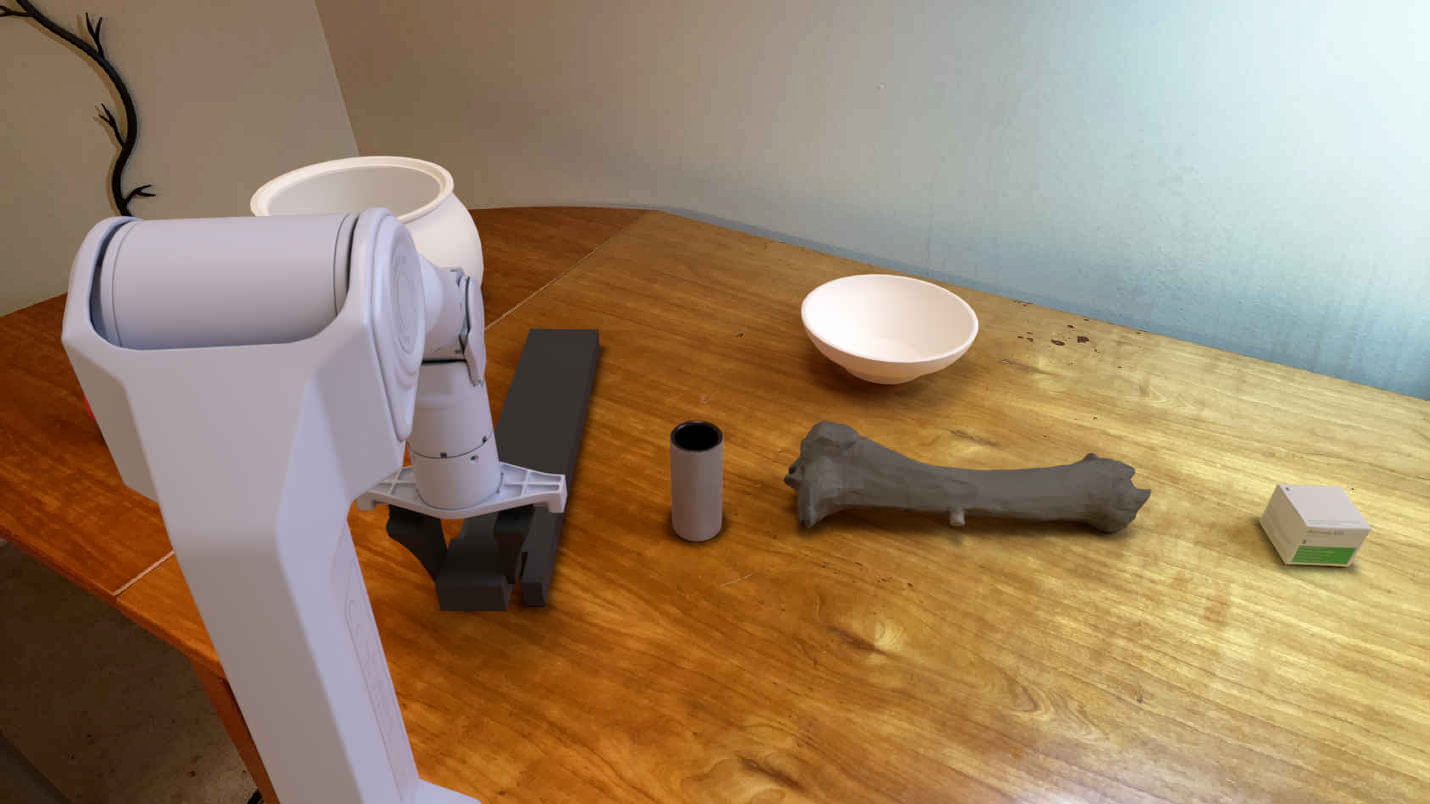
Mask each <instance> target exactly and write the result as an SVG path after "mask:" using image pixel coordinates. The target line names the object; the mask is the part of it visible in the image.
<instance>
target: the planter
mask: <svg viewBox="0 0 1430 804" xmlns="http://www.w3.org/2000/svg"><path fill="white" fill-rule="evenodd" d="M669 448H670V449H669V453H670V454H669V455H670V456H669V457H670V490H671V491H670V492H671V493H670V494H671V496H670V497H671V523H672V529H673V531H674V533H675V534H676V535H677V536H679V537H680V538H682V539H684V540H686V541H689V542H690V541H691V542H704V541H709V540H710V539H713V538H714V537H716V536H717V535H718V534H719V533H720V531H721V529H722V525H723V485H724V483H723V482H724V481H723V478H724V477H723V476H724V434H723V431H722V429H720V427H718V426H717V425H716V424H714V423H712V422H710V421H706V420H701V419H700V420H698V419H697V420H688V421H684V422H681V423H679V424H678V425H676V426H675V427H674V428H673V429H672V430H671V432H670V434H669Z"/></svg>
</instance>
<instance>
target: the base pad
mask: <svg viewBox="0 0 1430 804" xmlns="http://www.w3.org/2000/svg"><path fill="white" fill-rule="evenodd" d="M600 351H601V345H600V333H599V328H595V329H594V328H529V331H528V333H527V337H526V339H525V342H524V345H523V348H522V351H521V354H520V357H519V360H518V362H517V366H516V368H515V371H514V374H513V377H512V380H511V383H510V386H509V389H508V391H507V394H506V397H505V400H504V403H503V406H502V409H501V412H500V414H499V417H498V421H497V423H496V426H495V429H494V436H495V442H496V448H497V454H498V460H499V462H503V463H507V464H511V465H515V466H518V467H522V468H526V469H530V470H534V471H538V472H542V473H547V474H557V475H565V481H566V490H567V498H566V503H565V507H564V512H563V513H551V512H549V511H548V506H536V509H535V513H534V517H533V521H532V525H531V528H530V531H529V534H528V536H527V539H526V541H525V542H524V544H523V547H522V557H521V570H520V574H519V576H521V581H520V587H521V592H522V598H523V604H524V606H525V607H546V603H547V599H548V594H549V589H550V585H551V580H552V576H553V572H554V566H555V562H556V557H557V552H558V547H559V543H560V539H561V538H560V537H561V535H562V534H561V533H562V529H563V524H564V520H565V514H566V509H567V506H568V500H569V496H570V491H571V488H572V487H571V486H572V482H573V478H574V473H575V469H576V464H577V458H578V455H579V449H580V444H581V440H582V437H583V430H584V426H585V422H586V418H587V417H586V416H587V412H588V407H589V403H590V398H591V394H592V387H593V383H594V379H595V375H596V370H597V365H598V362H599V361H598V360H599V357H600ZM496 512H499V511H496ZM463 519H464V520H463V521H462V525H461V529H460V531H459V534H458V537H457V538H464V537H465V534H466V531H467V528H468V525H469V522H470V519H471V517H468V518H463Z"/></svg>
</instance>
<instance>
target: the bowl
mask: <svg viewBox="0 0 1430 804" xmlns="http://www.w3.org/2000/svg"><path fill="white" fill-rule="evenodd" d="M800 314H801V322H802V325H803V327H804V330H805V333H806V334H807V336H808V338H809V340H810V341H811V342H812V343H813V345H814V346H815V347H816V348H817V349H818V351H819V352H820V353H821V354H822V355H823V356H825V357H827V359H829V360H830V361H832V362H834V363H835V364H838V365H839V366H841V367H843V368H844V369H845V370H846V372H848V373H850V374H851V375H852V376H854V377H856V378H858V379H861V380H863V381H865V382H870V383H874V384H882V385H899V384H903V383H908V382H911V381H914V380H915V379H917V378H918V377H921V376H924V375H929V374H933V373H935V372H938V371H941V370H943V369H945V368H947V367H949V366H950V365H951V364H953V363H955V362H956V361H957V360H959V359H960V358H961V357H963V355H964V354H965V353H966V352H967V351H968V350H969V349H970V347H971V346H972V345H973V343H974V341H975V338H976V336H977V334H978V331H979V320H978V317H977V315H976V312H975V311H974V309H972V307H971V306H970V305H969V304H968V302H966V301H965V300H963V298H961V297H960V296H958V295H957V294H955V293H953V292H952V291H950V290H948V289H946V288H943V287H941V286H939V285H936V284H934V283H931V282H928V281H926V280H925V281H924V280H922V279H917V278H914V277H913V278H912V277H909V276H901V275H893V274H877V273H875V274H873V273H872V274H871V273H870V274H857V275H851V276H844V277H840V278H837V279H834V280H830V281H828V282H824V283H823V284H821V285H819V286H817V287H816V288H814V289H813V290H812V291H811V292H809V293H808V294H807V295H806V297H805V298H804V299H803V301H802V303H801V307H800Z"/></svg>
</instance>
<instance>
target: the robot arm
mask: <svg viewBox="0 0 1430 804" xmlns="http://www.w3.org/2000/svg"><path fill="white" fill-rule="evenodd" d="M68 278H69V279H68V285H67V286H68V287H67V295H66V302H65V308H64V312H63V318H62V332H61V335H60V336H61V338H60V341H61V343H62V346H63V348H64V351H65V353H66V355H67V357H68V360H69V362H70V365H71V366H72V368H73V371H74V373H75V376H76V379H77V380H78V382H79V385H80V387H81V390H82V391H83V395H84V394H85V396H86V398H87V401H88V403H89V405H90V407H91V410H92V412H93V414H94V417H95V419H96V421H97V422H96V421H95V422H96V424H97V425H98V428H99V430H100V433H101V435H102V437H103V439H104V441H105V444H106V446H107V448H108V451H109V452H110V453H109V454H110V455H111V457H112V459H113V461H114V465H115V466H116V468H117V471H118V473H119V475H120V477H121V480H122V482H123V485H125V486H126V487H127V488H129V489H130V490H133V491H135V492H136V493H138V494H140V495H142V496H144V497H145V498H147V499H149V500H151V501H153V502H154V503H156V504H158V507H159V510H160V513H161V517H162V521H163V523H164V527H165V530H166V533H167V536H168V540H169V543H170V545H171V547H172V550H173V553H174V556H175V558H176V561H177V564H178V566H179V568H180V570H181V573H182V576H183V577H184V580H185V583H186V585H187V587H188V589H189V591H190V594H191V596H192V599H193V602H194V603H195V606H196V608H197V611H198V613H199V615H200V618H201V620H202V623H203V625H204V627H205V629H206V632H207V634H208V636H209V639H210V641H211V643H212V647H213V649H214V651H215V653H216V656H217V658H218V660H219V663H220V665H221V667H222V670H223V672H224V674H225V676H226V679H227V682H228V684H229V686H230V688H231V691H232V693H233V695H234V698H235V700H236V703H237V705H238V707H239V710H240V711H241V714H242V716H243V719H244V721H245V723H246V726H247V728H248V731H249V733H250V735H251V738H252V741H253V743H254V745H255V746H256V750H257V752H258V754H259V756H260V759H261V762H262V764H263V766H264V768H265V771H266V773H267V776H268V778H269V780H270V782H271V785H272V787H273V791H274V792H275V794H276V798H277V799H278V801H279V804H482V802H481V801H480V800H479V799H478V798H475V797H473V796H470V795H467V794H464V793H461V792H459V791H457V790H453V789H450V788H447V787H444V786H441V785H438V784H435V783H432V782H430V781H427V780H425V779H422V778H421V777H420V775H419V772H418V769H417V766H416V765H417V764H416V761H415V758H414V753H413V750H412V747H411V743H410V740H409V737H408V733H407V730H406V726H405V723H404V719H403V715H402V712H401V708H400V705H399V701H398V697H397V694H396V690H395V685H394V684H393V679H392V675H391V672H390V668H389V665H388V662H387V658H386V655H385V652H384V648H383V643H382V640H381V637H380V633H379V629H378V626H377V622H376V618H375V615H374V612H373V608H372V605H371V601H370V598H369V593H368V589H367V586H366V583H365V580H364V577H363V573H362V569H361V566H360V562H359V559H358V555H357V551H356V548H355V544H354V541H353V537H352V534H351V531H350V526H349V523H348V515H349V513H350V508H351V506H352V503H353V502H354V501H355V502H356V505H357V509H358V511H373V510H375V509H376V508H377V507H376V506H377V505H383V506H384V505H385V506H386V505H387V508H388V519H387V522H386V524H385V531H386V533H387V535H388V538H390V539H392V540H393V541H395V542H397V543H398V544H400V545H401V546H402V547H404V548H405V549H406V550H407V551H409V552H410V553H411V554H412V555H413V556H414V557H415V558H416V560H417V561H419V563H420V564H421V565H422V567H423V568H424V570H425V571H426V572H427V574H428V576H429V577H430V578H431V580H432V581H433V583H434V584H435V582H436V579H437V577H438V574H439V571H440V568H441V565H442V562H443V560H444V557H445V554H446V551H447V548H448V546H447V542H446V538H445V534H444V531H443V526H442V520H463V519H465V518H468V517H473V516H477V515H482V514H487V513H491V512H496V511H499V514H498V516H497V519H496V522H495V525H494V529H493V537H494V538H495V540H496V541H497V543H498V546H499V548H500V551H501V554H502V557H503V563H504V572H505V576H506V579H507V582H508V584H513V586H514V585H517V584H518V583H519V582H518V581H519V578H520V575H519V574H520V570H521V557H522V547H523V544H524V542H525V541H526V539H527V536H528V534H529V531H530V528H531V525H532V521H533V517H534V513H535V509H536V506H548V511H549V512H551V513H563V512H564V507H565V503H566V498H567V490H566V481H565V475H557V474H547V473H542V472H538V471H534V470H530V469H526V468H522V467H518V466H515V465H511V464H507V463H503V462H499V460H498V454H497V448H496V442H495V436H494V432H495V429H494V425H493V419H492V413H491V407H490V401H489V395H488V389H487V383H486V378H485V377H486V376H485V371H486V365H487V355H486V354H487V350H486V349H487V348H486V343H485V309H484V307H485V306H484V301H483V295H482V290H481V286H479V282H478V279H477V277H476V276H475V275H471V276H465V273H464V271H463V269H462V268H461V267H448V268H439V267H437V266H436V265H435V264H433V263H432V262H430V261H429V260H428V259H426V258H425V257H424V256H423V255H421V254H419V253H418V252H417V250H416V247H415V244H414V241H413V238H412V236H411V234H410V232H409V231H408V229H407V228H406V226H405V225H403V224H402V223H401V222H400V221H399V220H398V219H397V218H396V216H395V215H394V214H393V213H392V212H391V211H390V210H389V209H387V208H384V207H371V208H366V209H365V210H364V211H363V212H362V213H332V214H304V215H277V216H254V215H253V216H251V215H249V216H222V217H200V218H199V217H197V218H171V219H170V218H169V219H166V218H165V219H146V220H145V219H143V218H141V217H136V216H135V217H134V216H125V215H123V216H122V215H121V216H120V215H119V216H110V217H107V218H105V219H102V220H100V221H99V222H98V223H96V224H94V226H93V227H91V229H90V230H89V231H88V232H87V234H86V236H85V237H84V238H83V241H82V242H81V244H80V247H79V249H78V251H77V253H76V254H75V257H74V259H73V261H72V264H71V267H70V271H69V277H68ZM406 446H407V451H408V455H409V459H410V464H411V465H407V466H404V457H405V450H406Z"/></svg>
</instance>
